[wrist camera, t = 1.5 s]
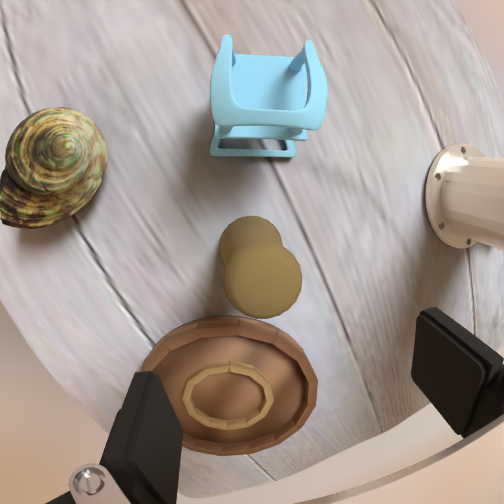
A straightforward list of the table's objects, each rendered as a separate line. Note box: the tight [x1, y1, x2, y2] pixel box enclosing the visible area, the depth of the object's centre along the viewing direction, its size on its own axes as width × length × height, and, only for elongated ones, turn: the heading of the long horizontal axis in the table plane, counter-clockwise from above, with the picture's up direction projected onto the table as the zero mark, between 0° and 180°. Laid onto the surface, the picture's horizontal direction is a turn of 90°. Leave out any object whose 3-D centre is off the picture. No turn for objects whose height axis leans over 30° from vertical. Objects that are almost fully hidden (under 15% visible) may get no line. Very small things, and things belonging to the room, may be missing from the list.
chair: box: [210, 35, 327, 157], centre depth 20 cm, size 8×8×12 cm
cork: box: [219, 216, 302, 319], centre depth 24 cm, size 6×6×11 cm
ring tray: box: [142, 316, 318, 456], centre depth 32 cm, size 20×20×2 cm
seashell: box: [0, 107, 107, 229], centre depth 21 cm, size 11×11×10 cm
